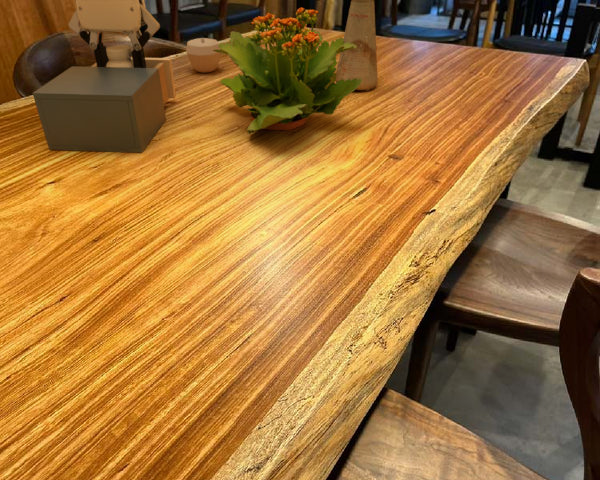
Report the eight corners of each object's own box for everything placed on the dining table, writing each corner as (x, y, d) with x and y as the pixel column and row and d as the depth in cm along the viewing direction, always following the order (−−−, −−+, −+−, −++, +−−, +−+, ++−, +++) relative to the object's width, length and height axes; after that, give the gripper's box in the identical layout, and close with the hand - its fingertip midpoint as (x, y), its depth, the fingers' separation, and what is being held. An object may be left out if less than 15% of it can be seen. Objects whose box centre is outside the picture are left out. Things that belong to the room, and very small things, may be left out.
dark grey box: (84, 117, 94) (71, 66, 89) (166, 120, 94) (158, 68, 88) (49, 150, 83) (32, 92, 77) (142, 152, 82) (131, 95, 77)
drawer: (113, 88, 105) (106, 50, 101) (181, 89, 105) (176, 52, 100) (79, 119, 91) (69, 77, 87) (157, 121, 90) (150, 79, 86)
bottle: (329, 90, 108) (336, -80, 91) (341, 78, 115) (349, -82, 97) (371, 95, 106) (386, -79, 89) (380, 82, 112) (396, -81, 95)
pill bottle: (135, 95, 98) (126, 42, 93) (148, 102, 95) (140, 48, 90) (108, 100, 95) (96, 46, 90) (120, 108, 92) (110, 53, 87)
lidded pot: (217, 76, 115) (214, 43, 111) (182, 74, 116) (178, 41, 112) (227, 66, 121) (225, 35, 117) (194, 65, 122) (190, 33, 118)
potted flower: (181, 118, 94) (167, 6, 84) (279, 90, 108) (277, -10, 97) (279, 159, 81) (277, 31, 70) (377, 121, 94) (387, 9, 83)
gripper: (161, -54, 84) (177, 68, 95) (54, -55, 84) (82, 66, 96) (148, -49, 78) (166, 80, 89) (33, -51, 79) (65, 78, 90)
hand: (122, 72), depth 92 cm, fingers closed on pill bottle, 5 cm apart
